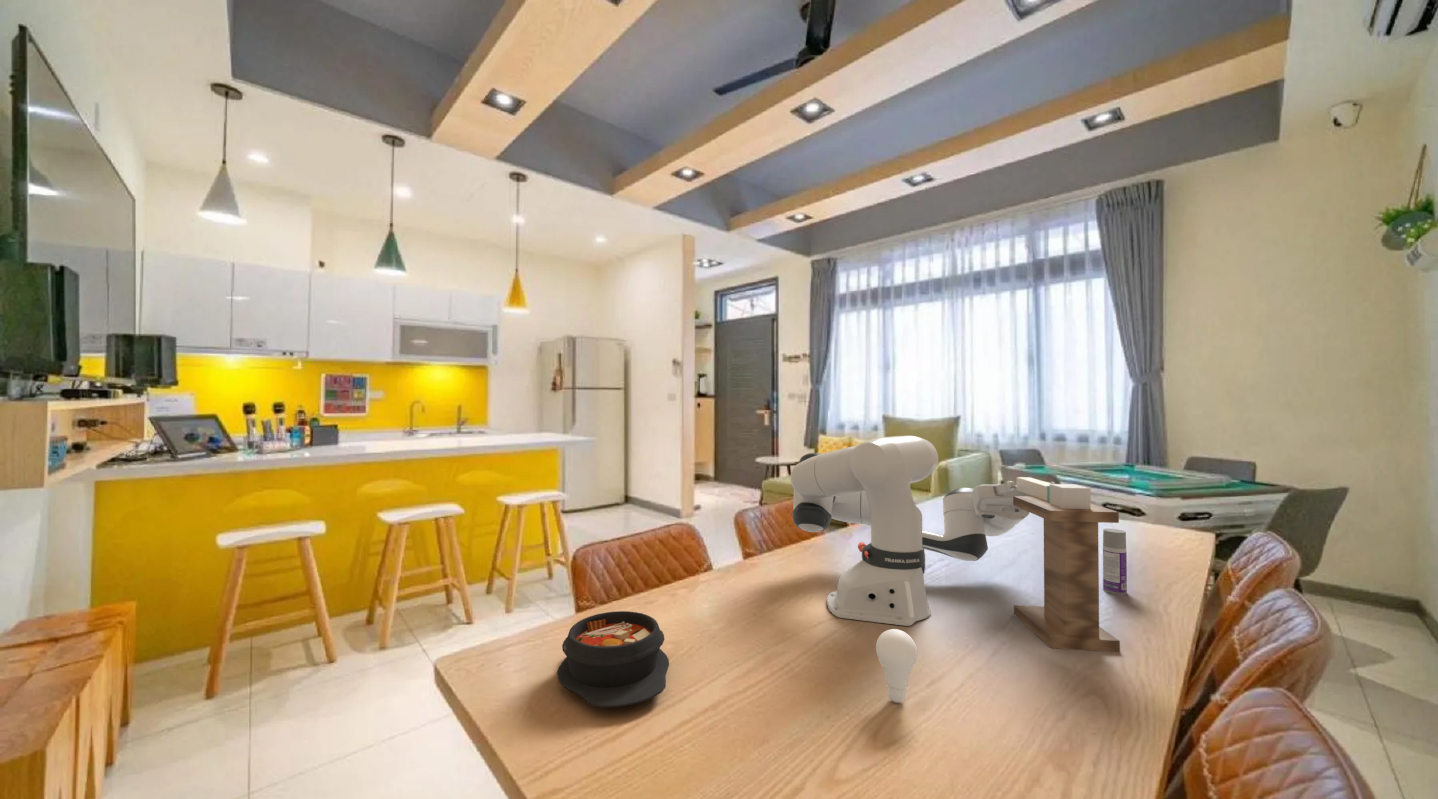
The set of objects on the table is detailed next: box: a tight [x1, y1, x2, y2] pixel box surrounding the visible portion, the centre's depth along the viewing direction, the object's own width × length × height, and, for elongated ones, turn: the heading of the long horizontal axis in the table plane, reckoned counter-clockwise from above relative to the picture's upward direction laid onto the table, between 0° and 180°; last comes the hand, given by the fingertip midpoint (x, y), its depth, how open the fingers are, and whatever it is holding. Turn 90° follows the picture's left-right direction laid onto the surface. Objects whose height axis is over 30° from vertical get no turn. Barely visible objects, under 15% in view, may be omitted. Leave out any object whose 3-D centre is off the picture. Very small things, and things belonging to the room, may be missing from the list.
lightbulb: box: [875, 628, 918, 704], centre depth 81 cm, size 6×6×11 cm
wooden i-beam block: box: [1013, 496, 1121, 653], centre depth 106 cm, size 12×16×26 cm
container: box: [1102, 528, 1128, 596], centre depth 129 cm, size 5×5×15 cm
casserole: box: [556, 610, 670, 709], centre depth 89 cm, size 25×19×8 cm
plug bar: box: [1016, 476, 1092, 509], centre depth 112 cm, size 5×22×4 cm, turn 173°
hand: (1031, 484), depth 119 cm, fingers open, 7 cm apart
